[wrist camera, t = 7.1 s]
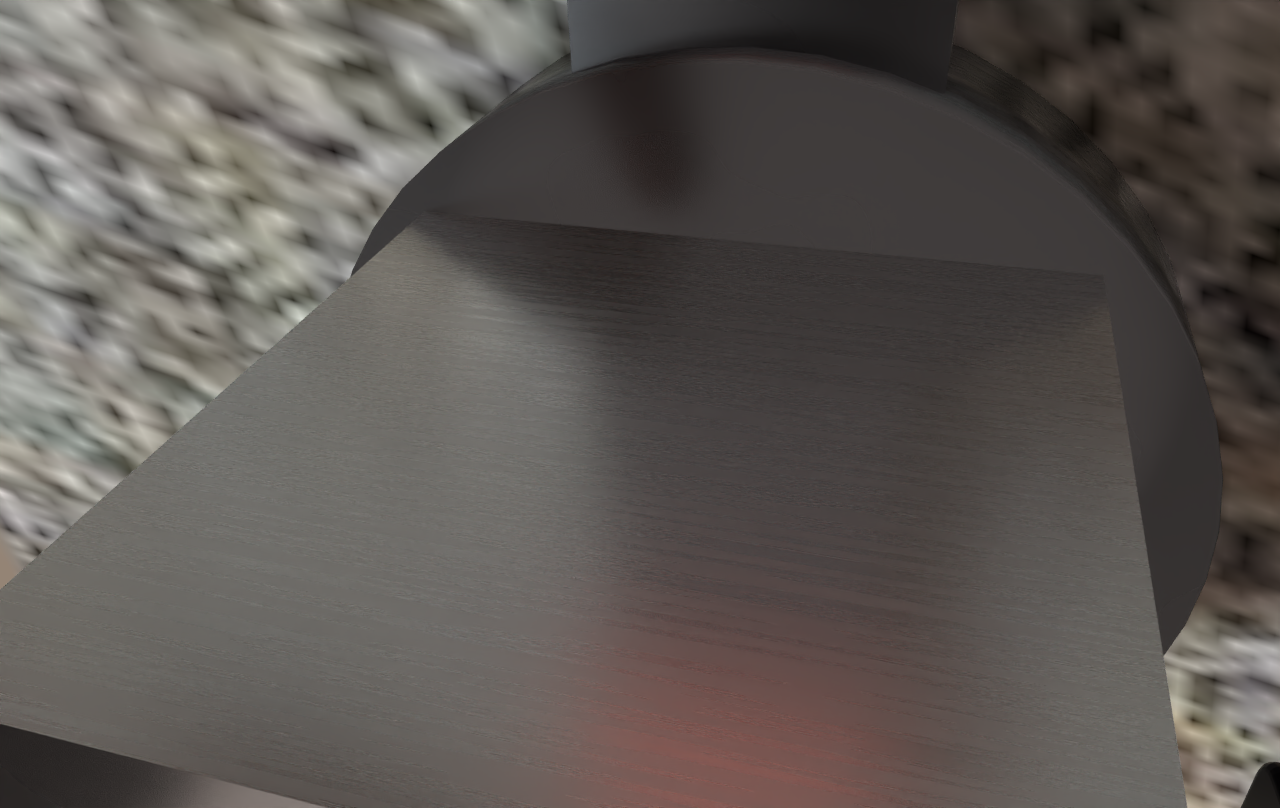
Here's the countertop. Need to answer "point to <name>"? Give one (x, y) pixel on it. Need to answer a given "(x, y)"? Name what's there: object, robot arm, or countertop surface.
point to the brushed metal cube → (618, 548)
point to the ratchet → (850, 188)
